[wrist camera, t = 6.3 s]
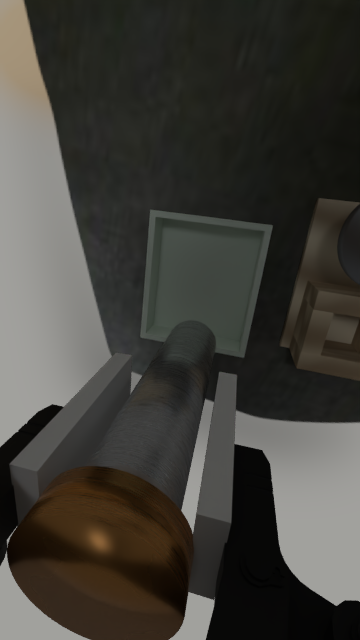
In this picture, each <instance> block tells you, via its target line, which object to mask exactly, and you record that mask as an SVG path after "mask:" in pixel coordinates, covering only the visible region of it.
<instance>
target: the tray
mask: <svg viewBox="0 0 360 640" xmlns="http://www.w3.org/2000/svg"><path fill="white" fill-rule="evenodd" d="M272 228H273V225H267V224H260V223H252V222H244V221H236V220H228V219H221V218H213V217H205V216H197V215H189V214H182V213H174V212H166V211H158V210H150V220H149V233H148V246H147V258H146V271H145V284H144V296H143V309H142V322H141V334H140V338H146V339H151V340H156V341H161V342H165V340H166V339H167V337H168V336H169V334H170V332H171V331H172V329H173V328H174V327H175V326H176V325H177V324H179V323H181V322H183V321H187V320H195V321H199V322H202V323H204V324H205V325H207V326H208V327H209V328H210V329H211V330H212V332H213V334H214V336H215V339H216V349H215V352H216V353H221V354H226V355H232V356H237V357H242V358H244V356H245V351H246V346H247V342H248V337H249V333H250V328H251V324H252V319H253V314H254V310H255V305H256V301H257V296H258V292H259V287H260V283H261V278H262V273H263V269H264V264H265V260H266V255H267V251H268V246H269V241H270V237H271V232H272Z"/></svg>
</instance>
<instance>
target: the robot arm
mask: <svg viewBox="0 0 360 640" xmlns="http://www.w3.org/2000/svg"><path fill="white" fill-rule="evenodd" d="M131 368H132V355H127V354H122V353H117V352H116V353H115V354H114V355H113V356H112V357H111V358H110V359H109V361H108V362H107V363H106V364H105V365H104V366H103V367H102V368H101V369H100V370H99V371H98V372H97V373H96V374H95V375H94V376H93V377H92V378H91V379H90V380H89V381H88V383H87V384H86V385H85V386H84V387H83V388H82V389H81V390H80V391H79V392H78V393H77V394H76V395H75V396H74V397H73V398H72V399H71V400H70V402H68V403H67V405H65V406H64V407H62V406H57V405H53V404H52V405H50V406H48V407H46V408H44V409H43V410H41V411H39V412H38V413H36V414H35V415H34V416H33V417H32V418H31V419H30V420H29V421H28V422H27V424H25V425H24V426H22V428H21V429H19V431H18V432H16V433H15V434H14V435H13V436H12V437H11V438H10V439H9V440H8V441H7V442H5V444H3V445H2V446H1V447H0V565H1V563H2V562H3V560H4V558H5V554H6V551H7V539H8V538H9V536H10V535H11V533H12V532H13V531H14V529H15V528H16V527H18V525H19V524H20V523H21V521H22V520H23V519H24V517H25V516H26V515H27V513H28V512H29V511H30V509H31V508H32V506H33V505H34V504H35V502H36V501H37V500H38V498H39V497H40V496H41V494H42V493H43V491H44V490H45V489H46V487H47V486H48V485H49V483H50V482H51V481H52V480H53V479H54V478H55V477H57V476H58V475H59V474H61V473H63V472H65V471H67V470H70V469H73V468H77V467H84V466H85V464H86V463H87V461H88V460H89V458H90V457H91V455H92V454H93V452H94V451H95V449H96V447H97V446H98V444H99V443H100V441H101V440H102V438H103V437H104V435H105V433H106V432H107V430H108V429H109V427H110V426H111V424H112V423H113V421H114V419H115V418H116V416H117V415H118V413H119V412H120V410H121V409H122V407H123V405H124V404H125V402H126V401H127V399H128V398H129V396H130V390H131V389H130V388H131ZM236 387H237V375H235V374H229V373H224V372H219V376H218V382H217V388H216V394H215V400H214V407H213V413H212V419H211V425H210V431H209V438H208V444H207V450H206V456H205V463H204V469H203V476H202V482H201V488H200V494H199V501H198V507H197V513H196V520H195V526H194V532H193V547H194V554H193V563H192V569H191V576H190V583H189V590H188V592H191V593H194V594H197V595H200V596H203V597H207V598H210V599H213V600H214V598H215V604H214V610H213V613H212V617H211V621H210V625H209V630H208V633H207V638H206V640H360V602H359V601H346V600H345V601H343V602H342V603H340V604H339V605H338V606H335V605H334V604H332V603H331V602H329V601H328V600H326V599H325V598H323V597H322V596H320V595H318V594H317V593H315V592H314V591H312V590H311V589H309V588H308V587H307V586H305V585H304V584H303V583H301V582H300V581H299V580H298V578H297V577H296V576H295V575H294V574H293V573H292V572H291V570H290V569H289V567H288V566H287V564H286V563H285V561H284V559H283V556H282V554H281V551H280V547H279V541H278V532H277V523H276V514H275V505H274V496H273V488H272V481H271V479H272V478H271V469H270V463H269V461H268V460H267V458H266V456H265V455H264V453H263V451H262V450H259V449H254V448H250V447H245V446H241V445H236V444H234V439H235V412H236Z"/></svg>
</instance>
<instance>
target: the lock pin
mask: <svg viewBox="0 0 360 640" xmlns="http://www.w3.org/2000/svg"><path fill="white" fill-rule="evenodd" d="M215 349H216V339H215V336H214V334H213V332H212V330H211V329H210V328H209V327H208V326H207V325H205V324H204V323H202V322H199V321H195V320H187V321H183V322H181V323H179V324H177V325H176V326H175V327H174V328H173V329H172V331H171V332H170V334H169V336H168V337H167V339H166V340H165V342H164V343H163V345H162V346H161V348H160V350H159V351H158V353H157V354H156V356H155V357H154V359H153V360H152V362H151V364H150V365H149V367H148V368H147V370H146V371H145V373H144V374H143V376H142V377H141V379H140V381H139V382H138V384H137V385H136V387H135V388H134V390H133V392H132V393H131V395H130V396H129V398H128V399H127V401H126V402H125V404H124V405H123V407H122V409H121V410H120V412H119V413H118V415H117V416H116V418H115V419H114V421H113V423H112V424H111V426H110V427H109V429H108V430H107V432H106V433H105V435H104V437H103V438H102V440H101V441H100V443H99V444H98V446H97V447H96V449H95V451H94V452H93V454H92V455H91V457H90V458H89V460H88V461H87V463H86V464H85V466H84V467H77V468H73V469H70V470H67V471H65V472H63V473H61V474H59V475H58V476H57V477H55V478H54V479H53V480H52V481H51V482H50V483H49V485H48V486H47V487H46V489H45V490H44V491H43V493H42V494H41V496H40V497H39V498H38V500H37V501H36V502H35V504H34V505H33V506H32V508H31V509H30V511H29V512H28V513H27V515H26V516H25V517H24V519H23V520H22V521H21V523H20V524H19V525H18V527H17V528H16V530H15V531H14V533H13V534H12V536H11V537H10V540H9V543H8V548H7V558H8V563H9V567H10V570H11V572H12V575H13V577H14V579H15V581H16V583H17V584H18V586H19V587H20V589H21V590H22V591H23V593H24V594H25V595H26V596H27V597H28V599H29V600H30V601H31V602H32V603H33V604H34V605H35V606H36V607H38V608H39V609H40V610H41V611H42V612H43V613H44V614H46V615H47V616H48V617H50V618H51V619H52V620H54V621H55V622H57V623H58V624H60V625H61V626H63V627H65V628H67V629H69V630H70V631H72V632H74V633H76V634H78V635H81V636H83V637H85V638H88V639H91V640H169V639H170V638H171V637H173V636H174V635H175V634H176V633H177V632H178V631H179V629H180V627H181V625H182V623H183V620H184V617H185V610H186V604H187V596H188V590H189V583H190V576H191V569H192V563H193V554H194V547H193V534H192V530H191V528H190V525H189V523H188V521H187V519H186V518H185V516H184V515H183V513H182V511H181V509H182V505H183V500H184V495H185V490H186V486H187V481H188V476H189V472H190V467H191V462H192V457H193V452H194V448H195V443H196V438H197V434H198V429H199V424H200V420H201V415H202V410H203V406H204V401H205V396H206V391H207V387H208V382H209V377H210V372H211V368H212V363H213V358H214V354H215Z"/></svg>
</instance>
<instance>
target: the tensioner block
mask: <svg viewBox="0 0 360 640" xmlns="http://www.w3.org/2000/svg"><path fill="white" fill-rule="evenodd" d="M279 344H280V346H282V347H287V348H289V349H290V352H291V355H292V357H293V360H294V363H295V366H296V368H298V369H303V370H308V371H313V372H318V373H323V374H328V375H333V376H338V377H343V378H348V379H353V380H358V381H360V203H358V202H349V201H340V200H331V199H322V198H318V199H317V200H316V204H315V208H314V211H313V215H312V219H311V223H310V227H309V231H308V235H307V238H306V242H305V246H304V250H303V254H302V258H301V261H300V265H299V269H298V273H297V277H296V281H295V284H294V288H293V292H292V296H291V300H290V304H289V307H288V311H287V315H286V319H285V323H284V327H283V331H282V334H281V338H280V342H279Z"/></svg>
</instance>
